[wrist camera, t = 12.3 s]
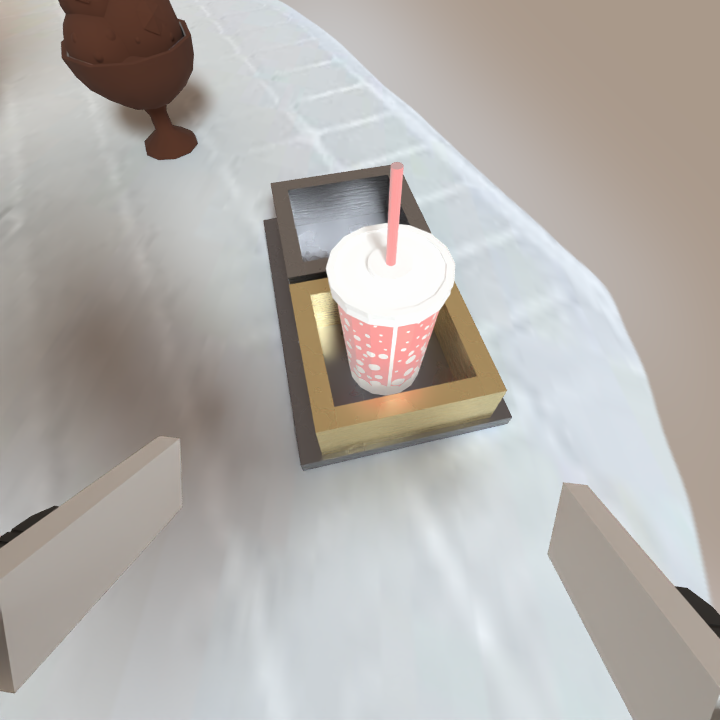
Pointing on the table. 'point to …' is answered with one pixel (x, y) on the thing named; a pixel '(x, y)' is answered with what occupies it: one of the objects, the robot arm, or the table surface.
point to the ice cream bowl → (133, 61)
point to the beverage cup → (389, 296)
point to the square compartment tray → (326, 340)
